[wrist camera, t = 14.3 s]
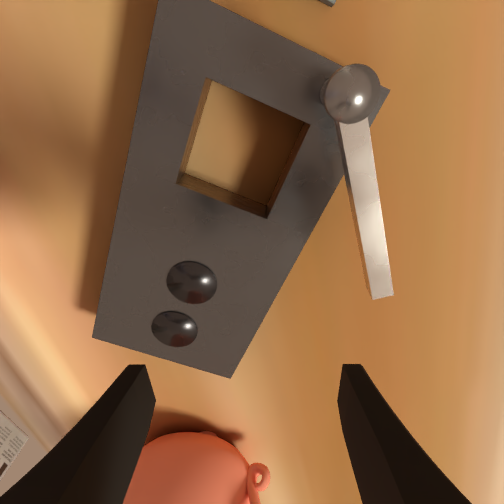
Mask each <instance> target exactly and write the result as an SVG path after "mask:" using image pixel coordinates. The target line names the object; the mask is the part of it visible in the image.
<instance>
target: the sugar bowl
mask: <svg viewBox="0 0 504 504" xmlns="http://www.w3.org/2000/svg"><path fill="white" fill-rule="evenodd" d="M259 475H262V479H261V481H260V483H256V481H257V477H258V476H259ZM269 482H270V473H269V470H268V468H267V467H266V466H265V465H263V464H261V463H253V464H251V465H250V466H249V464H248V462H247V461H246V459H245V458H244V457H243V456H242V454H241V453H240V452H239V451H238V449H236V448H235V447H234V446H233V445H231V444H230V443H228V442H227V441H225V440H223V439H220V438H218V437H217V435H216V434H215V433H213V432H210V431H202V432H200V433H196V432H177V433H171V434H167V435H163V436H160V437H158V438H156V439H154V440H153V441H151V442H150V443H148V444H147V445H145V446H144V447H143V448H142V451H141V454H140V457H139V460H138V462H137V465H136V468H135V471H134V473H133V476H132V479H131V482H130V485H129V487H128V490H127V493H126V496H125V499H124V501H123V504H260V499H259V495H258V491H264V490H265V489H266V488H267V487H268V485H269Z"/></svg>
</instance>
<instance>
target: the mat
mask: <svg viewBox="0 0 504 504" xmlns="http://www.w3.org/2000/svg"><path fill="white" fill-rule="evenodd" d="M319 1H321V2H323V3H324V4H326V5H328V6H330V7H332V6H333V5H334V4H335V2H336V0H319Z"/></svg>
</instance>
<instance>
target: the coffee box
mask: <svg viewBox="0 0 504 504" xmlns="http://www.w3.org/2000/svg"><path fill="white" fill-rule="evenodd" d="M28 438H29V437H28V436H27V435H26V434H25V433H24V432H23V431H22V430H20V428H19V427H17V426H16V425H15V424H14V423H13V422H12V421H11V420H10V419H9V418H8V417H7V416H6V415H5V414H4V413H3V412H2V411H0V481H1V479H2V478H3V476H4V475H5V473H6V472H7V470H8V469H9V467H10V466H11V464H12V463H13V461H14V460H15V458H16V457H17V455H18V454H19V452H20V451H21V449H22V448H23V446H24V445H25V444H26V442H27V441H28Z"/></svg>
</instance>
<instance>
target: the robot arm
mask: <svg viewBox="0 0 504 504" xmlns="http://www.w3.org/2000/svg"><path fill="white" fill-rule="evenodd" d="M155 402H156V399H155V396H154V392H153V389H152V386H151V382H150V379H149V376H148V372H147V369H146V366H145V365H128V366H127V367H126V368H125V369H124V371H123V372H122V373H121V374H120V375H119V376H118V378H117V379H116V380H115V381H114V382H113V383H112V385H111V386H110V387H109V388H108V389H107V390H106V392H105V393H104V394H103V395H102V396H101V397H100V399H99V400H98V401H97V402H96V403H95V404H94V405H93V406H92V407H91V409H90V410H89V411H88V412H87V413H86V414H85V415H84V416H83V417H82V419H81V420H80V421H79V422H78V423H77V424H76V425H75V426H74V427H73V428H72V429H71V430H70V431H69V432H68V433H67V434H66V435H65V437H64V438H63V439H62V440H61V441H60V442H59V443H58V444H57V445H56V446H55V447H54V448H53V449H52V450H51V451H50V452H49V453H48V454H47V455H46V456H45V457H44V458H43V459H42V460H41V461H40V462H39V463H38V464H36V465H35V466H34V467H33V468H32V469H31V470H30V471H29V472H28V473H27V474H26V475H25V476H23V477H22V478H21V479H20V480H19V481H18V482H17V483H16V484H15V485H13V486H12V487H11V488H10V489H9V490H8V491H7V492H5V494H3V495H2V496H1V497H0V504H123V501H124V499H125V496H126V493H127V490H128V487H129V485H130V482H131V479H132V476H133V473H134V471H135V468H136V465H137V462H138V460H139V457H140V454H141V451H142V448H143V445H144V443H145V440H146V437H147V434H148V431H149V427H150V423H151V419H152V415H153V411H154V406H155ZM337 402H338V408H339V414H340V420H341V425H342V431H343V435H344V438H345V442H346V446H347V449H348V453H349V457H350V460H351V464H352V467H353V471H354V475H355V478H356V482H357V485H358V489H359V492H360V496H361V500H362V503H363V504H472V503H471V502H470V501H469V500H468V499H467V498H466V497H465V496H464V495H463V494H462V493H461V492H460V491H459V490H458V489H457V488H456V487H455V485H454V484H453V483H452V482H451V481H450V480H449V479H448V478H447V477H446V476H445V474H444V473H443V472H442V471H441V470H440V469H439V468H438V467H437V465H436V464H435V463H434V462H433V461H432V460H431V458H430V457H429V456H428V455H427V454H426V452H425V451H424V450H423V449H422V448H421V446H420V445H419V444H418V443H417V441H416V440H415V439H414V438H413V437H412V435H411V434H410V433H409V431H408V430H407V429H406V428H405V426H404V425H403V424H402V422H401V421H400V420H399V418H398V417H397V416H396V414H395V413H394V412H393V410H392V409H391V408H390V406H389V405H388V403H387V402H386V401H385V399H384V398H383V396H382V395H381V393H380V392H379V391H378V389H377V388H376V386H375V385H374V383H373V382H372V380H371V379H370V377H369V376H368V374H367V372H366V371H365V369H364V368H363V366H362V365H361V364H343V366H342V373H341V380H340V387H339V393H338V400H337Z"/></svg>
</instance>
